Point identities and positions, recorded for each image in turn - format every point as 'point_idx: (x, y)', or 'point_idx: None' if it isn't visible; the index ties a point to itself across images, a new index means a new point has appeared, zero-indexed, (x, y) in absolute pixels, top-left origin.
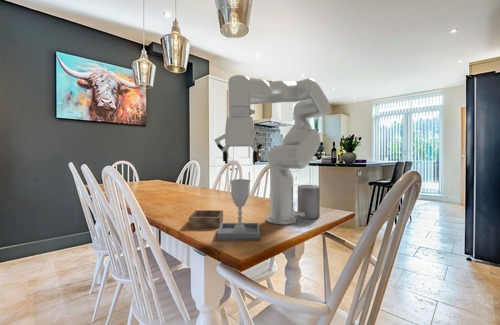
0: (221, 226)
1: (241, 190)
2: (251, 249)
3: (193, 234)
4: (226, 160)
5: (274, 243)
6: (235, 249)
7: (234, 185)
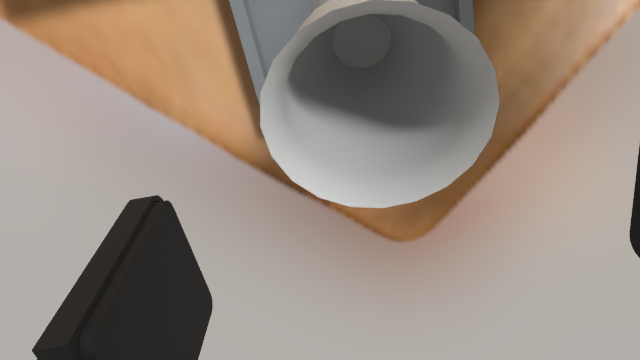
0: (241, 6)
1: (398, 148)
2: None
3: (118, 57)
4: (198, 337)
5: (536, 93)
6: None
7: (335, 168)
